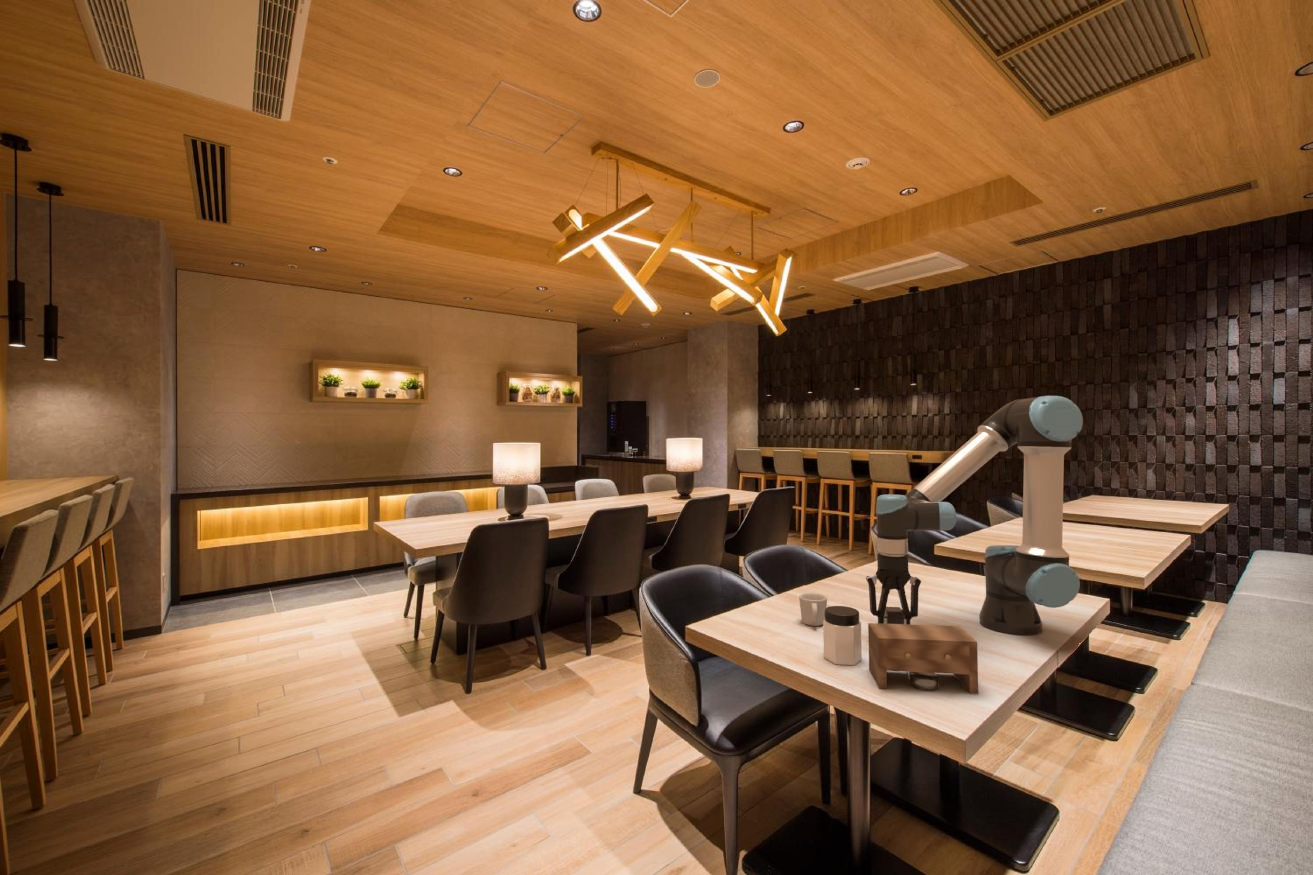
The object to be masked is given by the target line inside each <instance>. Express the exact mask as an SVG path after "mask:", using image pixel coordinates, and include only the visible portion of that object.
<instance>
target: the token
mask: <svg viewBox="0 0 1313 875" xmlns="http://www.w3.org/2000/svg"><path fill="white" fill-rule="evenodd" d="M907 675H908V685H909V686H910V687H912V688H913V689H915V690H918V691H922V692H936V691H938V690H939V689H940V683H939V682H940V679H939V677H940V676H939V674H938V673H927V672H908V673H907Z"/></svg>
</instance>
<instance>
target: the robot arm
mask: <svg viewBox="0 0 1313 875" xmlns="http://www.w3.org/2000/svg"><path fill="white" fill-rule="evenodd" d="M1083 422H1084V417H1083V414H1082V411H1081V410H1080V408H1079V407H1078V405H1077V404H1076V403H1074V402H1073V401H1072V400H1070V399H1069V398H1067V397H1064V396H1060V395H1042V396H1037V397H1029V398H1020V399H1019V398H1018V399H1015V400H1013V401H1011V402H1009V403H1006V404H1005V405H1003V406H1002V407H1000V408H999V409H998V410H997V411H996V412H994V413H993V414H992V415H991V416H990V417H988V418H987V419H986V420H985V421H983V422H982V423H981V424H980V425H978V427H977V433H976V434H974V435H973V436H972V437H971V438H970V439H969V440H968V441H966V442H965V443H964V444H963V445H961V446H960V448H958V449H957V450H956V451H954V452H953V454H951V455H950V456H949V457H948V458H947V459H945V460H944V461H943V462H942V463H941V464H940V465H939V466H937V467H936V468H935V469H934V470H933V471H932V472H930V473H929V474H928V475H926V477H925V478H924V479H923V480H921V481H920V482H919V483H918V484H917V485H916V486H915V487H913V488H912V489H911V490H909V491H908V492H907V493H906V494H905V495H904V494H903V495H902V494H890V493H888V494H881V495H879V496H877V498H876V506H875V514H876V545H877V548H876V549H877V550H876V551H877V552H878V554H876V557H877V570H876V572H875V574H873V575H870V576H869V575H868V576H866V577H865V579H866V582H867V584H868V595H869V597H868V598H869V611H870V613H871V615H873V616H875V617H877V623H881V624H887V618H886V617H885V616H884V615H885V610H886V607H887V604H888V598H889V594H890V592H891V591H892V590H896V591H897V595H898V598H899V601H900V608H901V609H902V610H903V611H904V624H911V620H912V618H917V617H918V616H919V588H920V586H921V583H922V580H921V579H920V578H918V577H917V576H915V577H914V576H912V575H911V574H910V572H909V555H907V554H908V553H909V542H908V541H909V539H908V538H909V536H908V534H909V533H908V532H914V531H917V532H918V531H920V532H922V531H923V532H925V531H926V532H929V531H930V532H931V531H932V532H934V531H935V532H942V531H951V530H952V529H953V528H955V526H956V523H957V513H956V509H955V507H954V506H953V504H951V503H950V502H949V501H943V500H944V499H946V498H947V497H948V496H949V495H950V494H951V493H952V492H954V491H955V490H956V489H957V488H958V487H960V485H962V484H963V483H965V482H966V481H967V480H968V479H969V478H970V477H972V476H973V474H975V473H976V472H977V471H978V470H979V469H981V468H982V467H983V466H984V465H985V464H986V463H987V462H989V461H990V460H991V459H992V458H993V457H995V455H997V454H998V453H999V452H1006V451H1008V450H1009V449H1010V448H1011V447H1013V446H1014V445H1016V444H1017V449H1019V450H1020V452H1022V453H1023V487H1022V488H1023V489H1022V490H1023V491H1022V493H1023V494H1022V495H1023V496H1022V499H1023V500H1022V535H1021V536H1022V537H1021V538H1022V539H1021V540H1022V543H1021V544H1020V545H1011V544H1010V545H1009V544H1007V545H1000V544H999V545H989V546H988V545H987V547H986V548H985V553H984V558H983V559H984V568H985V570H984V572H985V575H984V576H985V598H984V601H983V603H982V607H981V610H980V611H979V615H978V616H979V624H980V625H982V626H983V627H985V628H987V629H989V630H993V631H996V632H999V633H1005V634H1011V635H1021V636H1023V635H1024V636H1028V635H1029V636H1031V635H1037V634H1041V633H1042V632H1043V622H1042V620H1041V616H1040V614H1039V611H1038V609H1037V606H1036V605H1038V606H1044V607H1046V608H1053V609H1055V608H1062V607H1065V606H1067V605H1068V604H1069V603H1070V602H1071V601H1073V600H1074V599H1075V598H1076V597H1077V595H1078V593H1079V591H1080V585H1081V582H1080V577H1079V575H1078V573H1077V572H1076V571H1075V570H1074V569H1073V568H1072V567H1070V554H1069V552H1067V551H1066V550H1065V549H1064V548H1063V516H1064V515H1063V514H1064V513H1063V512H1064V511H1063V510H1064V471H1065V470H1064V467H1065V466H1064V465H1065V461H1064V460H1065V454H1066V453H1068V452H1069V451H1070V450H1072V440H1074V439H1075V438H1076V437H1077V436H1078V434H1079V433H1080V432H1081V431H1082V428H1083ZM877 581H879V583H880V584H881V593H880V597H879V602H878V608H877V594H876V592H877V591H876V584H877ZM908 582H909V584H910V608H909V603H908V600H907V599H908V598H907V595H906V590H905V586H906V585H907V583H908Z"/></svg>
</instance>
